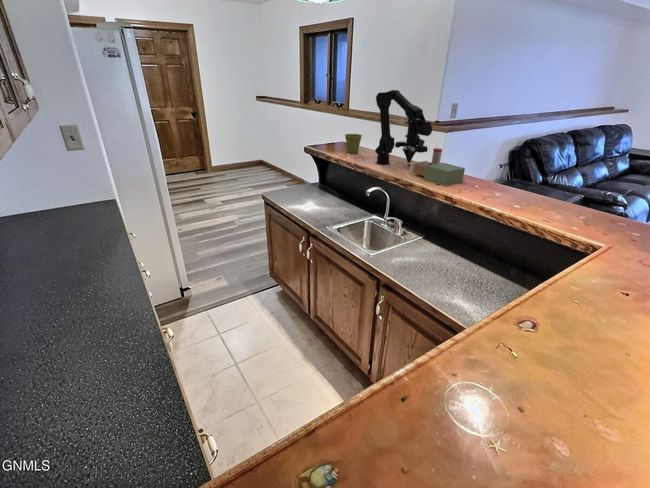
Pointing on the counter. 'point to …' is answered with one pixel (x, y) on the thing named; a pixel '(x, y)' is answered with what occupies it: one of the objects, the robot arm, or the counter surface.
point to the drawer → (419, 167)
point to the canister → (436, 155)
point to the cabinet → (444, 173)
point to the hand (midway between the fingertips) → (408, 162)
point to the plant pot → (353, 142)
